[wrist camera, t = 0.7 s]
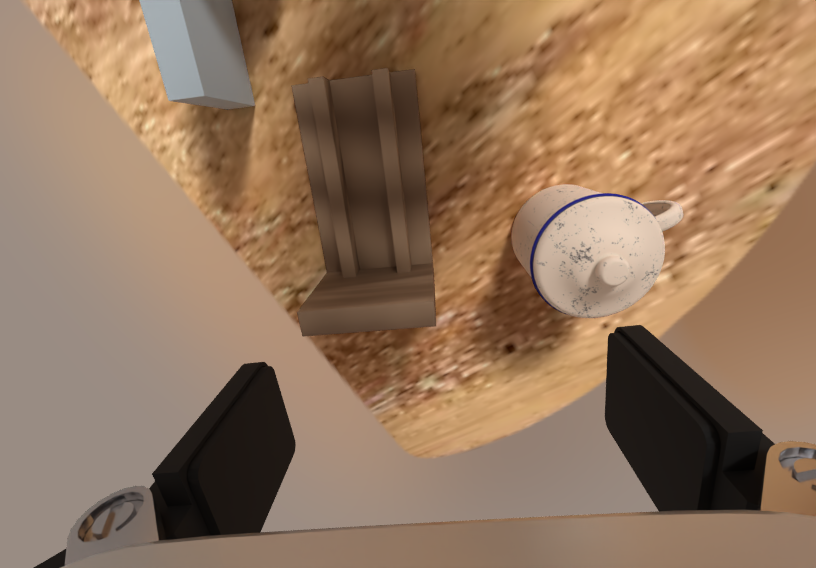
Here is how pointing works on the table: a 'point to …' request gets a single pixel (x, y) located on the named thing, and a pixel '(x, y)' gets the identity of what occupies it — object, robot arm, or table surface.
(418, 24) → the table surface
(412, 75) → the track
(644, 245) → the teacup with lid
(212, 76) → the door panel
